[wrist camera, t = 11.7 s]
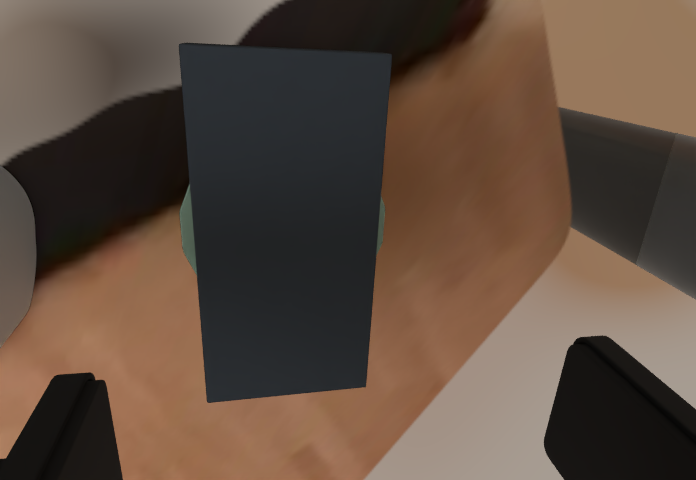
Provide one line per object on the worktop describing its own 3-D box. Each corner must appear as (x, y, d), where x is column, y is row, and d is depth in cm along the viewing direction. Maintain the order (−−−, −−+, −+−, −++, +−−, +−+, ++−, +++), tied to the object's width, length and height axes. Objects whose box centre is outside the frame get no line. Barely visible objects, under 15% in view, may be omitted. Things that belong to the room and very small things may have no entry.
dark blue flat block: (377, 52, 17) (392, 53, 15) (356, 361, 22) (366, 387, 20) (184, 42, 15) (178, 43, 14) (209, 374, 20) (206, 403, 19)
